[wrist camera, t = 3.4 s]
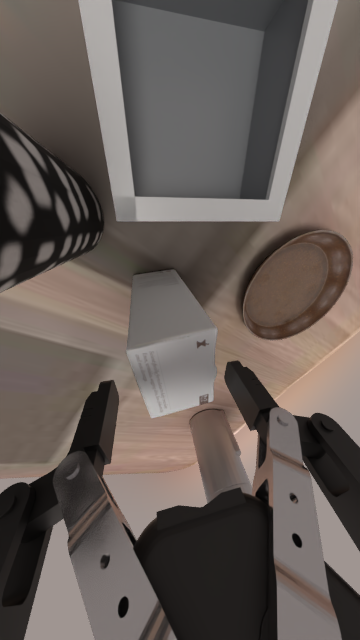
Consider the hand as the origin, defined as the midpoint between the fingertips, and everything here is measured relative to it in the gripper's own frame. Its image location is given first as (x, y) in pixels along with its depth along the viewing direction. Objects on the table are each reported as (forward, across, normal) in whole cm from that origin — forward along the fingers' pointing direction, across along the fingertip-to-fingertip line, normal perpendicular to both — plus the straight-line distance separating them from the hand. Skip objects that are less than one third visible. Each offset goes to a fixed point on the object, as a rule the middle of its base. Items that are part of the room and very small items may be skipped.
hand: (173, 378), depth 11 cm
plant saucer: (+15, -21, 0) cm, 26 cm away
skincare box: (+15, 0, 0) cm, 15 cm away
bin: (+15, -4, -17) cm, 23 cm away
